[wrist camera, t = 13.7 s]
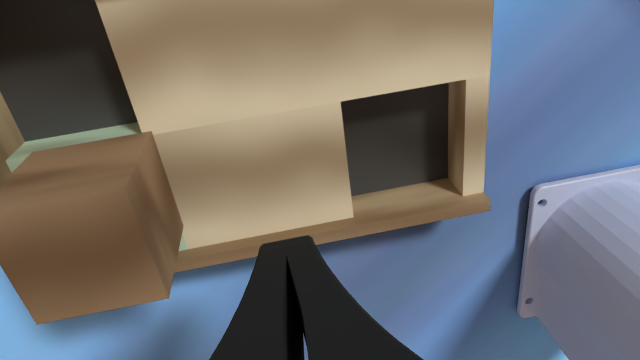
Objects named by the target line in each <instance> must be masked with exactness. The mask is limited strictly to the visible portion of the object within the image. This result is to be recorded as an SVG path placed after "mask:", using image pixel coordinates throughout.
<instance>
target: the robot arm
mask: <svg viewBox="0 0 640 360" xmlns="http://www.w3.org/2000/svg"><path fill="white" fill-rule="evenodd" d="M540 200H542V201H541V202H540V203H538V202H539V201H540ZM517 313H518V314H519V316H520V317H521V318H531V317H535V316H536V317H537V318H538V319H539V321H540V322H541V323H542V325H543V326H544V327H545V329H546V330H547V331H548V333H549V334H550V335H551V337H552V338H553V339H554V341H555V342H556V343H557V345H558V346H559V347H560V349H561V350H562V351H563V352H564V354H565V355H566V356H567V358H568V359H569V360H640V165H636V166H631V167H626V168H621V169H615V170H610V171H605V172H600V173H595V174H590V175H584V176H579V177H574V178H569V179H564V180H559V181H554V182H548V183H543V184H539V185H537V186H535V187H534V188H533V189H532V191H531V194H530V202H529V211H528V219H527V228H526V237H525V245H524V254H523V263H522V272H521V280H520V289H519V298H518V306H517ZM303 333H304V337H305V341H306V345H307V351H308V359H309V360H423V359H422V358H421V357H419V356H418V355H417V354H415V353H414V352H413V351H411V350H410V349H409V348H407V347H406V346H405V345H403V344H402V343H401V342H399V341H398V340H397V339H396V338H394V337H393V336H392V335H391V334H390V333H389V332H388V331H386V330H385V329H384V328H383V327H382V326H381V325H380V324H379V323H377V322H376V321H375V320H374V319H373V318H372V317H371V316H370V315H369V314H368V313H367V312H366V311H365V310H364V309H363V308H362V307H361V306H360V305H359V304H358V303H357V302H356V300H355V299H354V298H353V297H352V296H351V295H350V294H349V293H348V291H347V290H346V289H345V288H344V287H343V285H342V284H341V283H340V282H339V280H338V279H337V278H336V276H335V275H334V274H333V272H332V271H331V270H330V268H329V267H328V265H327V264H326V262H325V261H324V259H323V258H322V256H321V254H320V253H319V251H318V249H317V247H316V245H315V243H314V240H313V238H312V237H310V236H309V235H306V236H300V237H295V238H290V239H285V240H280V241H275V242H270V243H264V244H262V245H261V247H260V248H259V252H258V256H257V259H256V263H255V266H254V269H253V272H252V275H251V277H250V280H249V283H248V285H247V287H246V290H245V292H244V295H243V297H242V300H241V302H240V304H239V306H238V308H237V310H236V312H235V314H234V316H233V318H232V320H231V322H230V324H229V326H228V328H227V330H226V332H225V334H224V336H223V337H222V339H221V341H220V343H219V344H218V346H217V348H216V349H215V351H214V353H213V354H212V356H211V358H210V359H209V360H304V342H303Z"/></svg>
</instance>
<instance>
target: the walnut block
mask: <svg viewBox="0 0 640 360" xmlns="http://www.w3.org/2000/svg"><path fill="white" fill-rule="evenodd" d="M183 227H184V225H183V222H182V219H181V216H180V213H179V211H178V208H177V205H176V202H175V199H174V196H173V193H172V190H171V187H170V184H169V181H168V178H167V175H166V172H165V169H164V166H163V163H162V160H161V157H160V154H159V152H158V149H157V146H156V143H155V140H154V137H153V134H152V131H149V132H143V133H137V134H132V135H126V136H120V137H114V138H109V139H103V140H97V141H91V142H86V143H80V144H74V145H68V146H63V147H57V148H51V149H46V150H40V151H34V152H32V153H31V154H30V155H29V156H28V157H27V158H26V159H25V160H24V161H23V162H22V163H21V164H20V165H19V166H18V167H17V168H16V169H15V170H14V171H13V172H12V173H11V174H10V176H9V177H8V178H7V179H6V180H5V181H4V182H3V183H2V184H1V185H0V266H1V267H2V269H3V270H4V272H5V274H6V275H7V277H8V279H9V280H10V282H11V283H12V285H13V287H14V288H15V290H16V292H17V293H18V295H19V296H20V298H21V300H22V301H23V303H24V305H25V306H26V308H27V309H28V311H29V313H30V314H31V316H32V318H33V319H34V321H35V322H36V324H42V323H47V322H52V321H57V320H62V319H67V318H72V317H77V316H83V315H88V314H93V313H98V312H103V311H108V310H113V309H118V308H123V307H128V306H133V305H138V304H143V303H148V302H153V301H158V300H163V299H168V298H169V295H170V290H171V285H172V280H173V275H174V270H175V266H176V261H177V256H178V251H179V246H180V241H181V236H182V232H183Z"/></svg>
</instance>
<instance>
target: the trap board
mask: <svg viewBox="0 0 640 360" xmlns="http://www.w3.org/2000/svg"><path fill="white" fill-rule="evenodd" d="M493 10H494V0H0V185H1V184H2V183H3V182H4V181H5V180H6V179H7V178H8V177H9V176H10V174H11V173H12V172H13V171H14V170H15V169H16V168H17V167H18V166H19V165H20V164H21V163H22V162H23V161H24V160H25V159H26V158H27V157H28V156H29V155H30V154H31V153H32V152H34V151H40V150H46V149H51V148H57V147H63V146H68V145H74V144H80V143H86V142H91V141H97V140H103V139H109V138H114V137H120V136H126V135H132V134H137V133H143V132H149V131H152V134H153V137H154V140H155V143H156V146H157V149H158V152H159V154H160V157H161V160H162V163H163V166H164V169H165V172H166V175H167V178H168V181H169V184H170V187H171V190H172V193H173V196H174V199H175V202H176V205H177V208H178V211H179V213H180V216H181V219H182V222H183V225H184V227H183V232H182V236H181V241H180V246H179V251H178V256H177V261H176V266H175V270H174V273H176V272H181V271H186V270H191V269H196V268H201V267H206V266H211V265H217V264H222V263H227V262H232V261H237V260H242V259H247V258H252V257H257V256H258V252H259V248H260V247H261V245H262V244H264V243H270V242H275V241H280V240H285V239H290V238H295V237H300V236H306V235H309V236H310V237H312V238H313V240H314V243H315V245H318V244H323V243H329V242H334V241H339V240H344V239H349V238H354V237H359V236H364V235H369V234H374V233H380V232H385V231H390V230H395V229H400V228H405V227H410V226H415V225H420V224H425V223H430V222H436V221H441V220H446V219H451V218H456V217H461V216H466V215H471V214H476V213H481V212H486V211H490V199H489V198H488V197H487V196H486V194H485V193H484V192H483V191H484V173H485V155H486V137H487V119H488V101H489V82H490V64H491V46H492V28H493Z"/></svg>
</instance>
